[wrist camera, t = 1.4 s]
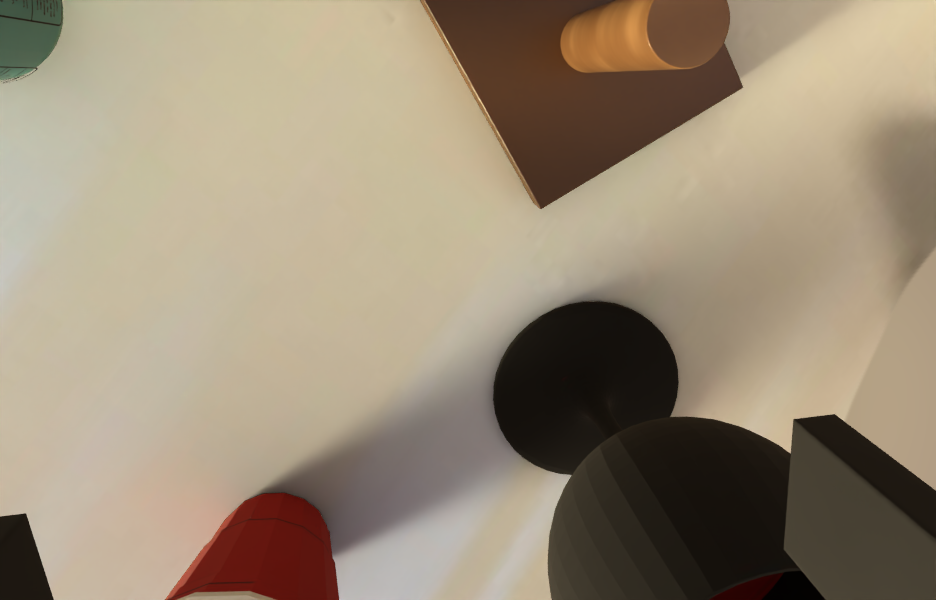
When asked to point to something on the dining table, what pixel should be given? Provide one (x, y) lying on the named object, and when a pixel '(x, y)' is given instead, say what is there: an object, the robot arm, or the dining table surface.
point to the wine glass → (642, 468)
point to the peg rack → (585, 77)
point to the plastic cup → (264, 555)
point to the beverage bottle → (27, 34)
